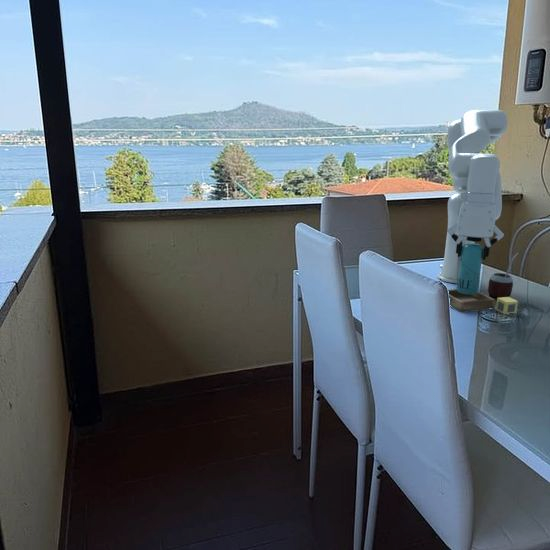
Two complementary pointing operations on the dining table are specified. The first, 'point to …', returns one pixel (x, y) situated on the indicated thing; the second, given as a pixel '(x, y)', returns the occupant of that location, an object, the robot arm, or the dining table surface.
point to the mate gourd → (501, 284)
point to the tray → (470, 301)
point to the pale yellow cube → (506, 305)
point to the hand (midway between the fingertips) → (471, 256)
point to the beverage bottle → (470, 267)
